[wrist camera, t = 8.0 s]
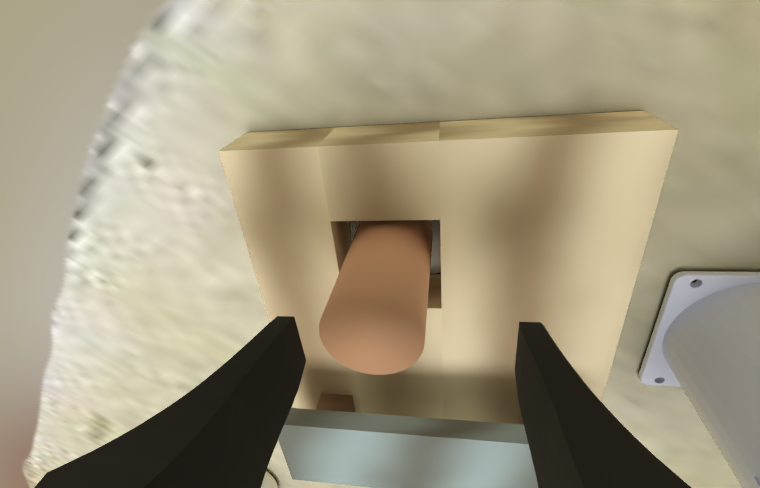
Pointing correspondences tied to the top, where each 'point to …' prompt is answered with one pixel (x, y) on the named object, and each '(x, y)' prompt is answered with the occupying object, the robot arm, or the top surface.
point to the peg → (380, 298)
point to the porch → (450, 276)
